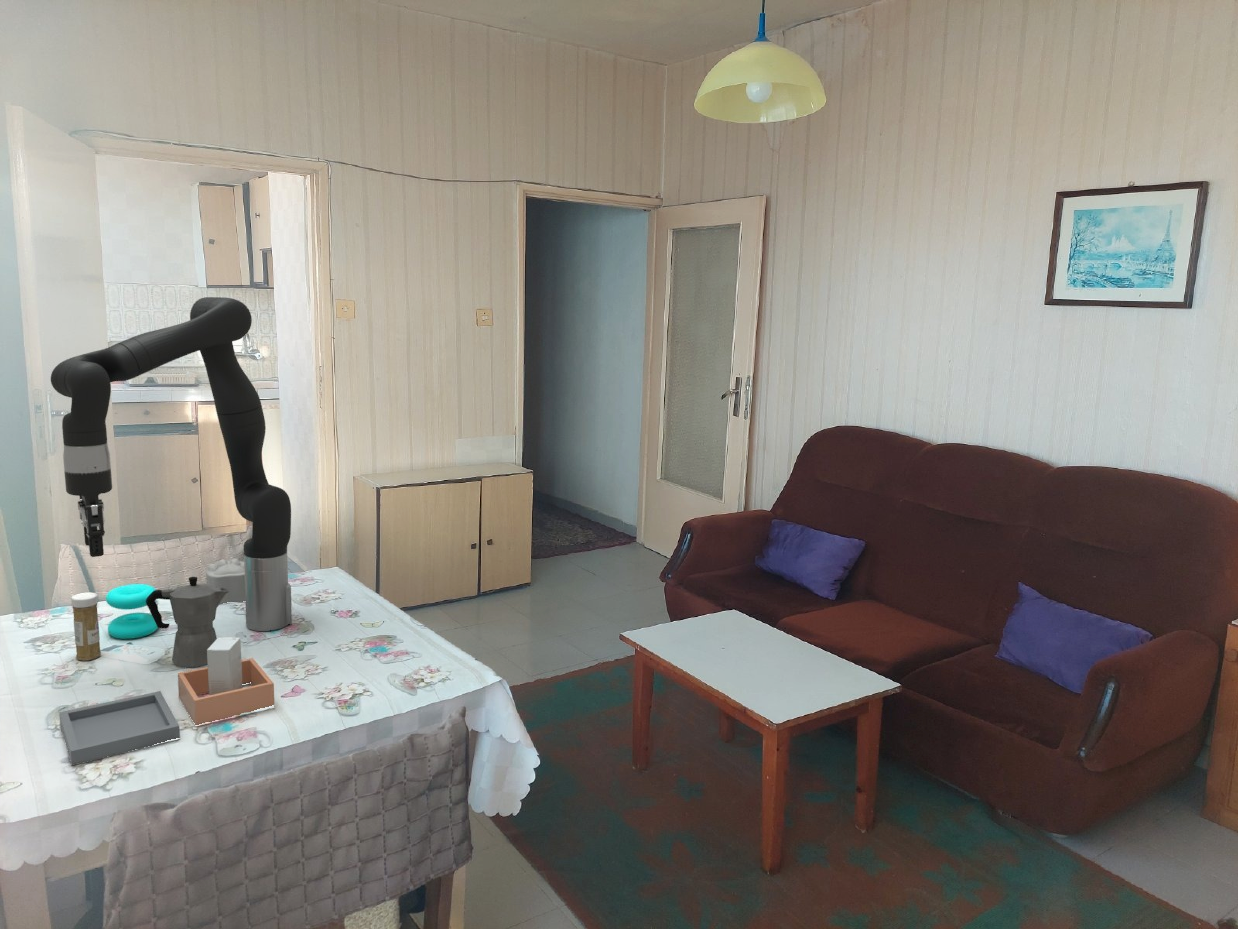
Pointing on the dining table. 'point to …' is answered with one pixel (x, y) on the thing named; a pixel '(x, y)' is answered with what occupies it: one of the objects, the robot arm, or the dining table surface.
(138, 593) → the donuts
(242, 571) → the lumpy-topped squat cylinder
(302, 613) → the dining table surface
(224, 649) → the skincare box
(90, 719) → the grey tray
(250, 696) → the orange square frame
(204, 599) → the coffeepot
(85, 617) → the sprinkles bottle
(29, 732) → the dining table surface
